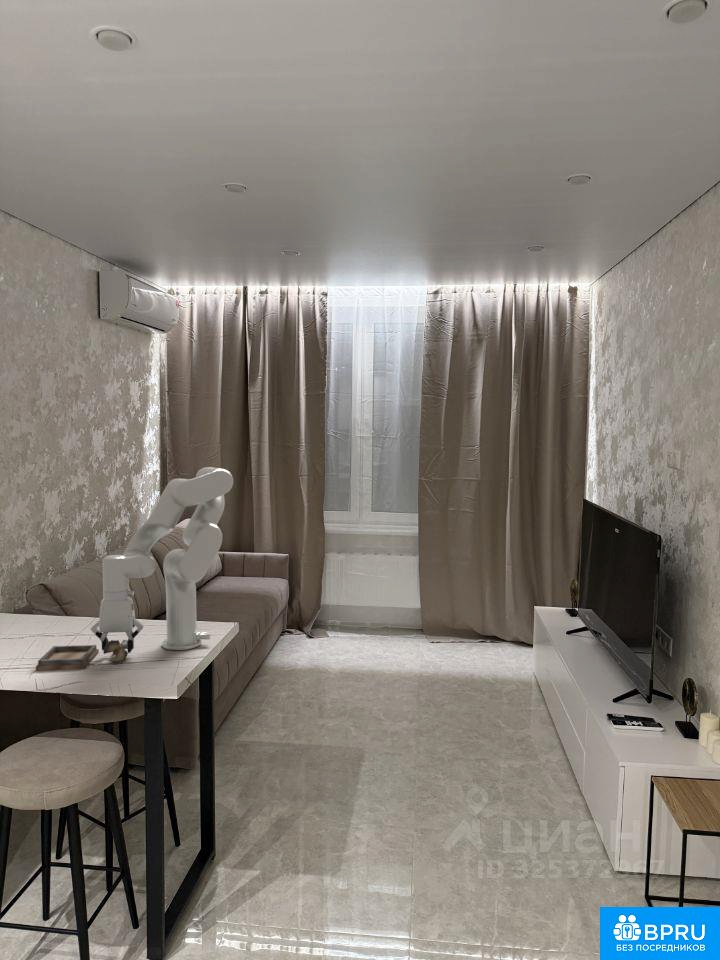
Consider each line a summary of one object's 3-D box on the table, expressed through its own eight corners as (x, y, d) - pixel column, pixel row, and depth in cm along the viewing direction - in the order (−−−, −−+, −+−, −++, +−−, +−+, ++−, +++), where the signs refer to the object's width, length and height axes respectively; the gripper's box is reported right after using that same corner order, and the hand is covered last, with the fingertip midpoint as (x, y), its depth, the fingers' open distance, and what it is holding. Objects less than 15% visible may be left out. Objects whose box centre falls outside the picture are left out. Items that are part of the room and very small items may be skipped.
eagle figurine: (101, 652, 223) (97, 656, 214) (114, 632, 224) (111, 635, 216) (122, 664, 224) (120, 668, 215) (135, 644, 226) (133, 647, 217)
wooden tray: (98, 652, 226) (98, 644, 226) (85, 668, 212) (84, 660, 211) (52, 654, 225) (52, 645, 225) (36, 670, 210) (35, 661, 210)
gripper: (147, 591, 225) (148, 647, 227) (90, 593, 223) (92, 649, 225) (142, 597, 218) (144, 655, 219) (83, 599, 216) (85, 656, 217)
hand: (117, 651), depth 222 cm, fingers closed on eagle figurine, 6 cm apart
